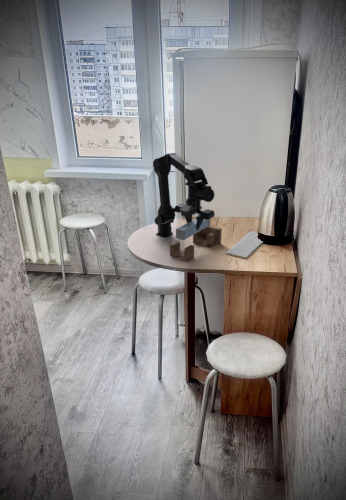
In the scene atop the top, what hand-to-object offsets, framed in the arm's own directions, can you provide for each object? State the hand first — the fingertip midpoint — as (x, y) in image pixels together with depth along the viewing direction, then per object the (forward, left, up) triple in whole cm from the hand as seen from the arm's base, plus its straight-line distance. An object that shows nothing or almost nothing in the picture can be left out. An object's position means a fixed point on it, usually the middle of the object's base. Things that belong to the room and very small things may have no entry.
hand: (193, 228), depth 180 cm
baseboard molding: (+18, +21, -12) cm, 30 cm away
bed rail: (0, 0, -2) cm, 2 cm away
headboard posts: (0, 0, -11) cm, 11 cm away
